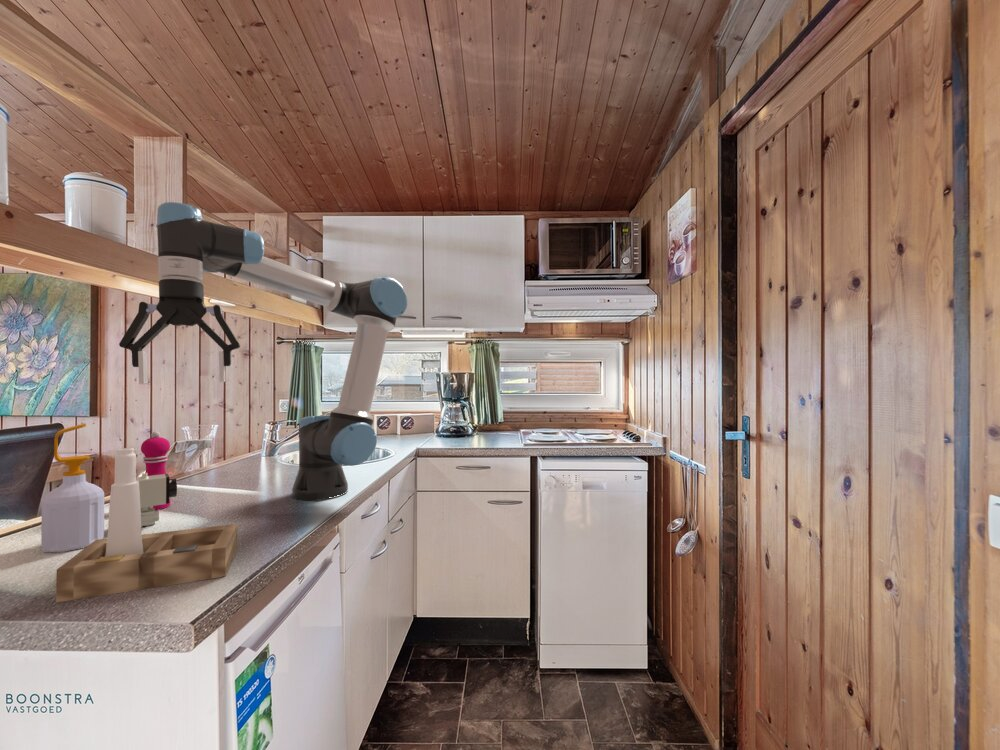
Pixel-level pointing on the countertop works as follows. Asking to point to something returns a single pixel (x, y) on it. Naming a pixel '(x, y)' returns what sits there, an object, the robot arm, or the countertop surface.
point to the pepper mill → (155, 457)
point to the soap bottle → (72, 507)
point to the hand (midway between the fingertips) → (184, 382)
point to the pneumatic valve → (154, 495)
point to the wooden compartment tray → (149, 563)
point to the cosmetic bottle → (124, 508)
